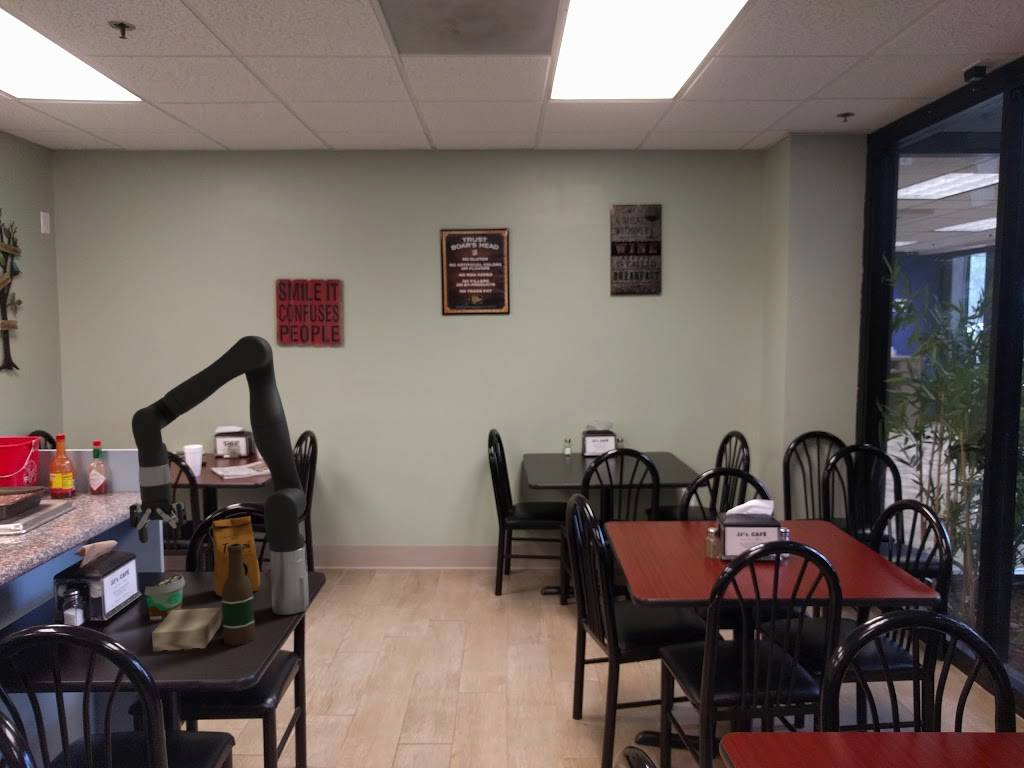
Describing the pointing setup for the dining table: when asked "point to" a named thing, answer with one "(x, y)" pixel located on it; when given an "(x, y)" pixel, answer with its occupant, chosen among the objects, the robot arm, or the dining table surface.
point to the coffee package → (223, 537)
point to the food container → (165, 597)
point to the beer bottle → (237, 601)
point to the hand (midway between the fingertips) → (160, 541)
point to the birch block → (186, 629)
